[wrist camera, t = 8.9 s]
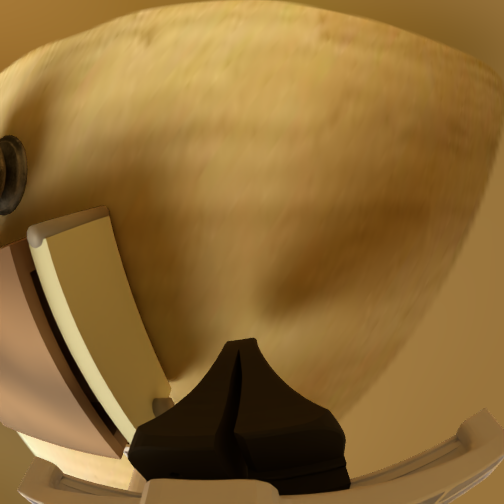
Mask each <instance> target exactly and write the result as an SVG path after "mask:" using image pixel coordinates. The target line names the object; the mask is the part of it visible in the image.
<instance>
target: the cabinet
mask: <svg viewBox="0 0 504 504" xmlns="http://www.w3.org/2000/svg"><path fill="white" fill-rule="evenodd" d="M0 421H1V422H2V424H3V425H4V426H6V427H9V428H11V429H13V430H16V431H18V432H21V433H23V434H26V435H28V436H31V437H34V438H37V439H40V440H43V441H46V442H49V443H52V444H55V445H58V446H62V447H65V448H69V449H73V450H77V451H81V452H85V453H89V454H94V455H99V456H104V457H109V458H115V459H121V458H122V455H123V452H124V449H125V447H126V444H127V440H126V438H125V437H124V436H123V434H122V433H121V432H120V430H119V429H118V428H117V426H116V425H115V424H114V422H113V421H112V419H111V418H110V417H109V415H108V414H107V412H106V411H105V409H104V408H103V406H102V405H101V403H100V402H99V400H98V399H97V397H96V396H95V394H94V393H93V391H92V389H91V388H90V386H89V384H88V383H87V381H86V379H85V378H84V376H83V374H82V372H81V371H80V369H79V367H78V365H77V363H76V362H75V360H74V358H73V356H72V354H71V352H70V350H69V348H68V346H67V344H66V342H65V340H64V338H63V336H62V334H61V332H60V329H59V327H58V325H57V323H56V320H55V318H54V316H53V313H52V311H51V309H50V306H49V304H48V301H47V298H46V296H45V293H44V291H43V288H42V285H41V282H40V279H39V276H38V273H37V270H36V267H35V264H34V261H33V257H32V254H31V251H30V247H29V242H28V240H27V237H26V238H23V239H21V240H18V241H15V242H12V243H10V244H7V245H4V246H2V247H0Z"/></svg>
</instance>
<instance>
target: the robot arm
mask: <svg viewBox="0 0 504 504" xmlns="http://www.w3.org/2000/svg"><path fill="white" fill-rule="evenodd" d="M345 442H346V439H345V435H344V432H343V430H342V428H341V426H340V425H339V423H338V421H337V420H336V419H335V417H334V416H333V415H332V413H331V412H330V411H329V410H327V409H325V408H323V407H321V406H319V405H316V404H315V403H313V402H311V401H309V400H308V399H306V398H304V397H303V396H301V395H300V394H299V393H297V392H296V391H294V390H293V389H292V388H291V387H289V386H288V385H287V384H286V383H285V382H284V381H283V380H282V379H281V378H280V377H279V376H278V375H277V374H276V373H275V372H274V370H273V369H272V368H271V367H270V365H269V364H268V363H267V361H266V360H265V358H264V357H263V355H262V353H261V351H260V349H259V347H258V345H257V340H256V339H255V338H249V339H242V340H235V341H227V342H226V344H225V345H224V347H223V349H222V351H221V353H220V354H219V356H218V358H217V359H216V361H215V362H214V364H213V365H212V367H211V368H210V370H209V371H208V372H207V374H206V375H205V376H204V378H203V379H202V380H201V381H200V383H199V384H198V385H197V386H196V387H195V388H194V389H193V390H192V391H191V392H190V393H189V394H188V395H187V396H186V397H184V398H183V399H182V400H181V401H180V402H178V403H177V404H176V405H175V406H173V407H172V408H170V409H169V410H167V411H166V412H164V413H163V414H161V415H159V416H158V417H156V418H154V419H152V420H150V421H148V422H146V423H144V424H142V425H140V426H138V427H137V430H136V432H135V434H134V436H133V439H132V442H131V445H130V444H126V447H125V449H124V452H123V453H124V454H125V455H126V456H127V458H128V460H129V461H130V463H131V464H132V465H133V467H134V471H133V474H132V477H131V481H130V484H129V488H128V490H123V489H118V488H113V487H109V486H105V485H101V484H97V483H93V482H89V481H86V480H82V479H79V478H76V477H73V476H70V475H67V474H64V473H63V472H62V471H61V470H60V469H59V468H58V467H57V466H56V465H55V464H53V463H51V462H49V461H47V460H44V459H42V458H39V457H34V459H33V461H32V463H31V465H30V467H29V468H28V470H27V472H26V474H25V476H24V478H23V479H22V481H21V483H20V485H19V487H18V489H17V491H18V492H19V493H20V494H21V495H22V496H24V497H25V498H26V499H27V500H29V501H30V502H31V503H32V504H449V503H450V502H452V501H453V500H455V499H456V498H458V497H459V496H461V495H462V494H464V493H465V492H467V491H468V490H470V489H471V488H473V487H474V486H475V485H477V484H478V483H480V482H481V481H483V480H484V479H485V478H487V477H488V476H489V475H490V474H491V473H492V472H493V470H494V469H495V468H496V467H497V466H498V465H499V464H500V462H501V461H502V460H503V458H504V429H503V428H502V426H501V425H500V424H499V423H498V422H497V420H496V419H495V418H494V417H493V416H492V414H491V413H490V412H489V411H488V410H487V409H486V408H483V409H482V410H480V411H479V412H478V413H476V414H474V415H473V416H471V417H469V418H468V419H467V420H465V421H464V422H463V423H462V424H461V425H460V427H459V428H458V431H457V433H456V435H454V436H452V437H451V438H449V439H447V440H445V441H443V442H441V443H440V444H438V445H436V446H434V447H432V448H430V449H428V450H426V451H424V452H422V453H419V454H417V455H415V456H413V457H410V458H408V459H406V460H404V461H401V462H399V463H396V464H394V465H391V466H389V467H386V468H383V469H381V470H378V471H375V472H372V473H369V474H366V475H363V476H360V477H356V478H353V479H350V478H349V475H348V472H347V469H346V460H345V457H344V450H345Z"/></svg>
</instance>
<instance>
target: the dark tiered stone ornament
mask: <svg viewBox="0 0 504 504" xmlns="http://www.w3.org/2000/svg"><path fill="white" fill-rule="evenodd" d="M26 179H27V158H26V154H25V150H24V147H23V145H22V143H21V142H20V141H19V139H18V138H16V137H14V136H11V135H10V136H4V137H2V138H1V139H0V215H7V214H10V213H11V212H12V211H14V210H15V209H16V207H17V206H18V204H19V203H20V201H21V198H22V196H23V193H24V189H25V185H26Z"/></svg>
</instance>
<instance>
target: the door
mask: <svg viewBox="0 0 504 504" xmlns="http://www.w3.org/2000/svg"><path fill="white" fill-rule="evenodd" d="M27 240H28V242H29V247H30V251H31V254H32V257H33V261H34V264H35V267H36V270H37V273H38V276H39V279H40V282H41V285H42V288H43V291H44V293H45V296H46V298H47V301H48V304H49V306H50V309H51V311H52V313H53V316H54V318H55V320H56V323H57V325H58V327H59V329H60V332H61V334H62V336H63V338H64V340H65V342H66V344H67V346H68V348H69V350H70V352H71V354H72V356H73V358H74V360H75V362H76V363H77V365H78V367H79V369H80V371H81V372H82V374H83V376H84V378H85V379H86V381H87V383H88V384H89V386H90V388H91V389H92V391H93V393H94V394H95V396H96V397H97V399H98V400H99V402H100V403H101V405H102V406H103V408H104V409H105V411H106V412H107V414H108V415H109V417H110V418H111V419H112V421H113V422H114V424H115V425H116V426H117V428H118V429H119V430H120V432H121V433H122V434H123V436H124V437H125V438H126V440H127V441H128V442H129V443H130V445H131V442H132V439H133V436H134V434H135V432H136V430H137V427H138V426H140V425H142V424H144V423H146V422H148V421H150V420H152V419H154V418H156V417H158V416H159V415H161V414H163V413H164V412H166V411H167V410H169V409H170V408H172V407H173V406H174V402H173V400H172V399H171V398H170V397H169V395H170V391H171V386H170V384H169V382H168V380H167V378H166V376H165V374H164V372H163V370H162V367H161V365H160V363H159V361H158V359H157V356H156V354H155V352H154V349H153V347H152V345H151V342H150V340H149V337H148V335H147V332H146V330H145V327H144V325H143V322H142V320H141V317H140V314H139V312H138V309H137V306H136V304H135V301H134V298H133V295H132V292H131V289H130V286H129V283H128V280H127V277H126V274H125V271H124V268H123V264H122V261H121V258H120V254H119V251H118V248H117V244H116V240H115V237H114V233H113V229H112V225H111V221H110V217H109V210H108V208H107V207H106V206H99V207H95V208H91V209H88V210H84V211H80V212H76V213H72V214H69V215H65V216H62V217H58V218H55V219H51V220H48V221H44V222H41V223H38V224H35V225H31V226H30V227H29V228H28V230H27Z"/></svg>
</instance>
